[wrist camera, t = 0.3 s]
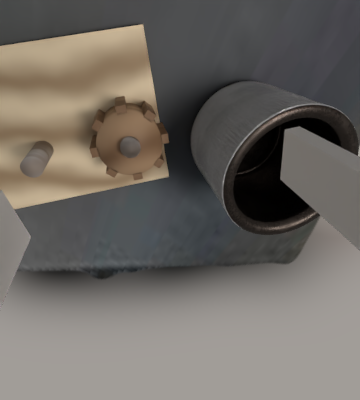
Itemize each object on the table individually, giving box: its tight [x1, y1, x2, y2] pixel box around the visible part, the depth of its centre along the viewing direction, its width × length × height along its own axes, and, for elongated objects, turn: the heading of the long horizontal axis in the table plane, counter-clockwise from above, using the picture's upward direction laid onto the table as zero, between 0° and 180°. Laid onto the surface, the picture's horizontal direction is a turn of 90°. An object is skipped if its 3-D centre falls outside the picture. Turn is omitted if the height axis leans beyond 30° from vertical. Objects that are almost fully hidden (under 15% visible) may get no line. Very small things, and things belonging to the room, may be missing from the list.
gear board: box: [0, 24, 169, 209], centre depth 32 cm, size 20×24×8 cm
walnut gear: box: [89, 96, 169, 180], centre depth 33 cm, size 10×10×6 cm
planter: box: [191, 81, 359, 235], centre depth 34 cm, size 16×16×16 cm
